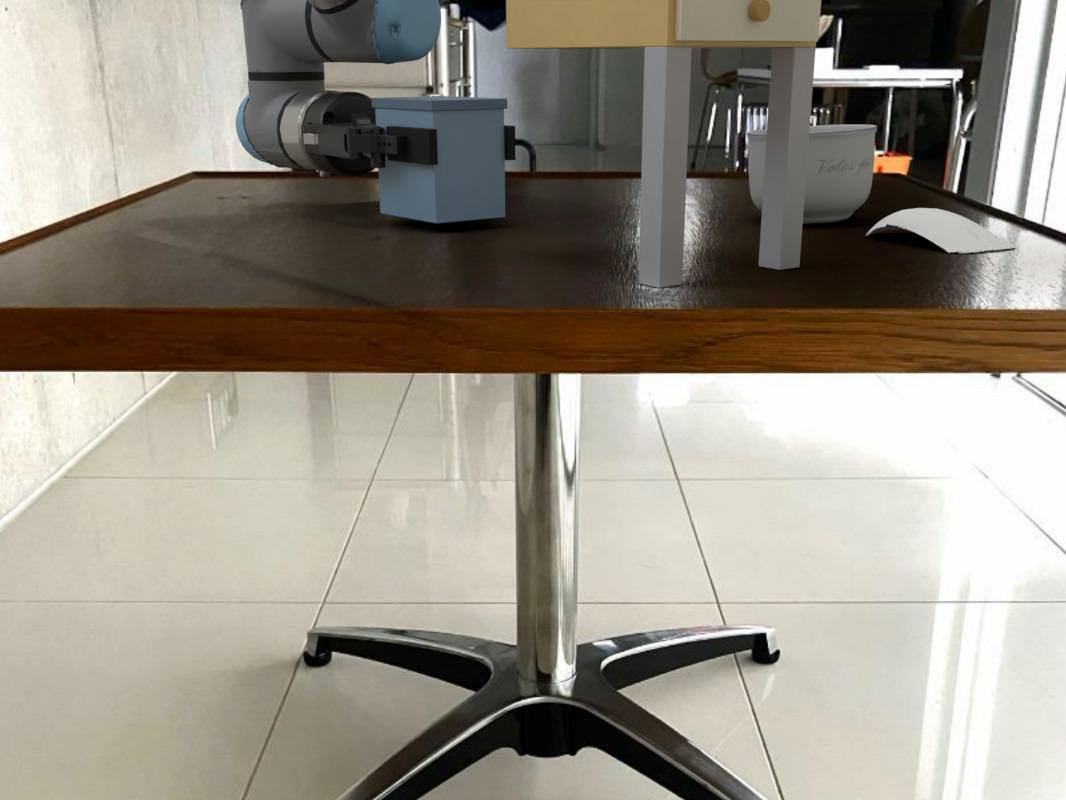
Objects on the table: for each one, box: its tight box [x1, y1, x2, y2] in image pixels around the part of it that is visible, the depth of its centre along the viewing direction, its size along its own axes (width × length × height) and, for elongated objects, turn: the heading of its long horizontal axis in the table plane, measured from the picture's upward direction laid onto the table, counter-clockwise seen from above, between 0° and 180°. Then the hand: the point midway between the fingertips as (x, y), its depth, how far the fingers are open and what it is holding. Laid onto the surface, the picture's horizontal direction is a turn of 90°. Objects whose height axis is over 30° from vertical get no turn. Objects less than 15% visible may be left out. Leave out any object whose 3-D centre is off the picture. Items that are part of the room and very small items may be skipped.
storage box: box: [371, 95, 508, 224], centre depth 103 cm, size 9×7×10 cm
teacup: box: [746, 123, 878, 225], centre depth 107 cm, size 14×11×8 cm
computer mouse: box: [865, 207, 1017, 254], centre depth 94 cm, size 7×12×2 cm, turn 26°
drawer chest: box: [505, 0, 822, 289], centre depth 81 cm, size 17×13×22 cm
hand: (473, 145), depth 99 cm, fingers closed on storage box, 7 cm apart
